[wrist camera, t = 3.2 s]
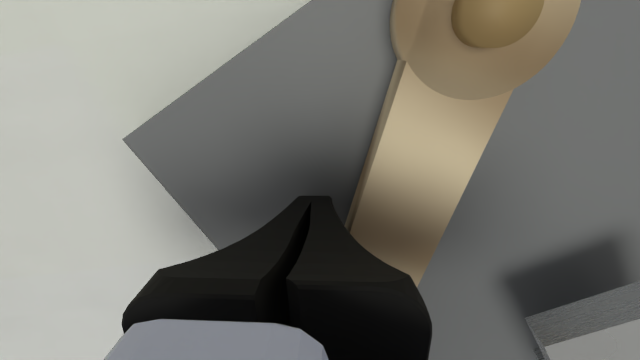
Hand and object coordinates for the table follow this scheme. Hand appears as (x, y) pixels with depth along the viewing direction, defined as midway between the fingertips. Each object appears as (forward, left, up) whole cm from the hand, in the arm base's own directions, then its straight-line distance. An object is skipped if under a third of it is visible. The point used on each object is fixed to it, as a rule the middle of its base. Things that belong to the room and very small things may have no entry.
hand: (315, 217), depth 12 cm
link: (+4, 0, 0) cm, 4 cm away
